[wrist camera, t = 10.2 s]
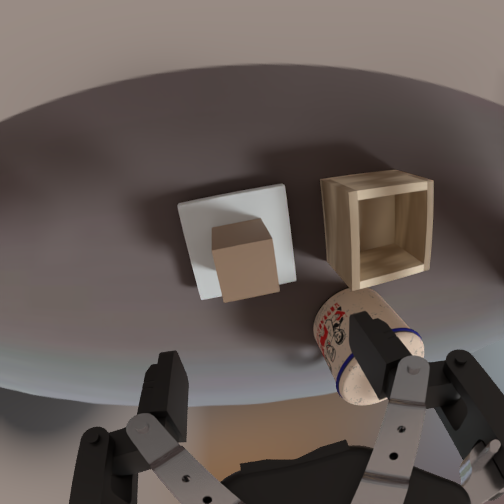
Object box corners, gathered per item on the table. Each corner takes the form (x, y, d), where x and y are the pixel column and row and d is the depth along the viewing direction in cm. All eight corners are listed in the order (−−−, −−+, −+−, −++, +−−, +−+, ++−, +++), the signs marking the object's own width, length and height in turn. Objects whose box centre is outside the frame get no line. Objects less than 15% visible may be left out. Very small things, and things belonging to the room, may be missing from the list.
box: (394, 169, 26) (433, 180, 20) (396, 245, 29) (429, 269, 23) (319, 179, 25) (348, 192, 20) (326, 261, 28) (352, 291, 23)
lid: (279, 181, 25) (302, 198, 19) (291, 271, 29) (312, 310, 22) (179, 200, 25) (168, 224, 18) (201, 289, 28) (200, 334, 22)
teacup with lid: (314, 286, 29) (362, 364, 19) (390, 279, 30) (454, 340, 20) (303, 373, 34) (332, 450, 23) (369, 361, 35) (410, 426, 24)
